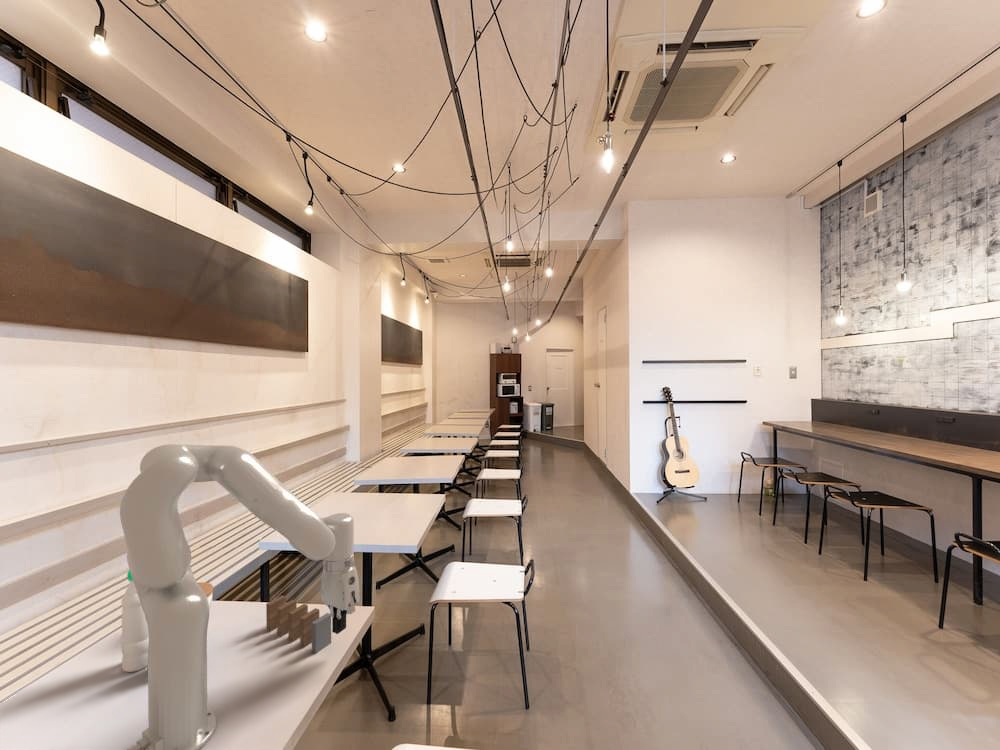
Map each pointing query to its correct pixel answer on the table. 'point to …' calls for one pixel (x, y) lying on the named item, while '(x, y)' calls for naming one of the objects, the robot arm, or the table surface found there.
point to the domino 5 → (321, 633)
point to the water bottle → (134, 631)
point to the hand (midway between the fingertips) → (339, 630)
